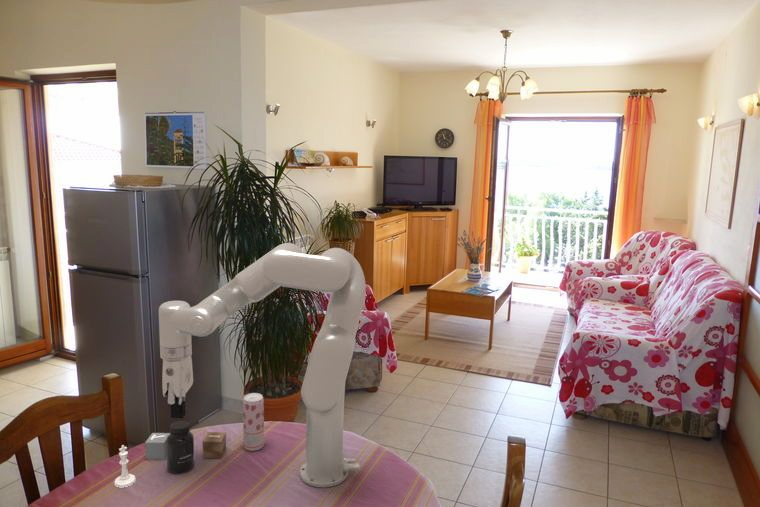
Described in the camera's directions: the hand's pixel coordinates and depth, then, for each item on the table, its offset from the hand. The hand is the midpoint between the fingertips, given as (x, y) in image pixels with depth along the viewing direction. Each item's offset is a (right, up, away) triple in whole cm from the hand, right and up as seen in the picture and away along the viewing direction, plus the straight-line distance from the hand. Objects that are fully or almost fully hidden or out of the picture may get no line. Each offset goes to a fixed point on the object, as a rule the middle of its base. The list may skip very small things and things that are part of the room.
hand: (178, 416), depth 143 cm
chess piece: (-12, -15, -4) cm, 20 cm away
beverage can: (+16, -13, +14) cm, 25 cm away
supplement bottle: (0, -14, +3) cm, 15 cm away
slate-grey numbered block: (-8, -13, +8) cm, 18 cm away
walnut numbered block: (+7, -13, +10) cm, 18 cm away
